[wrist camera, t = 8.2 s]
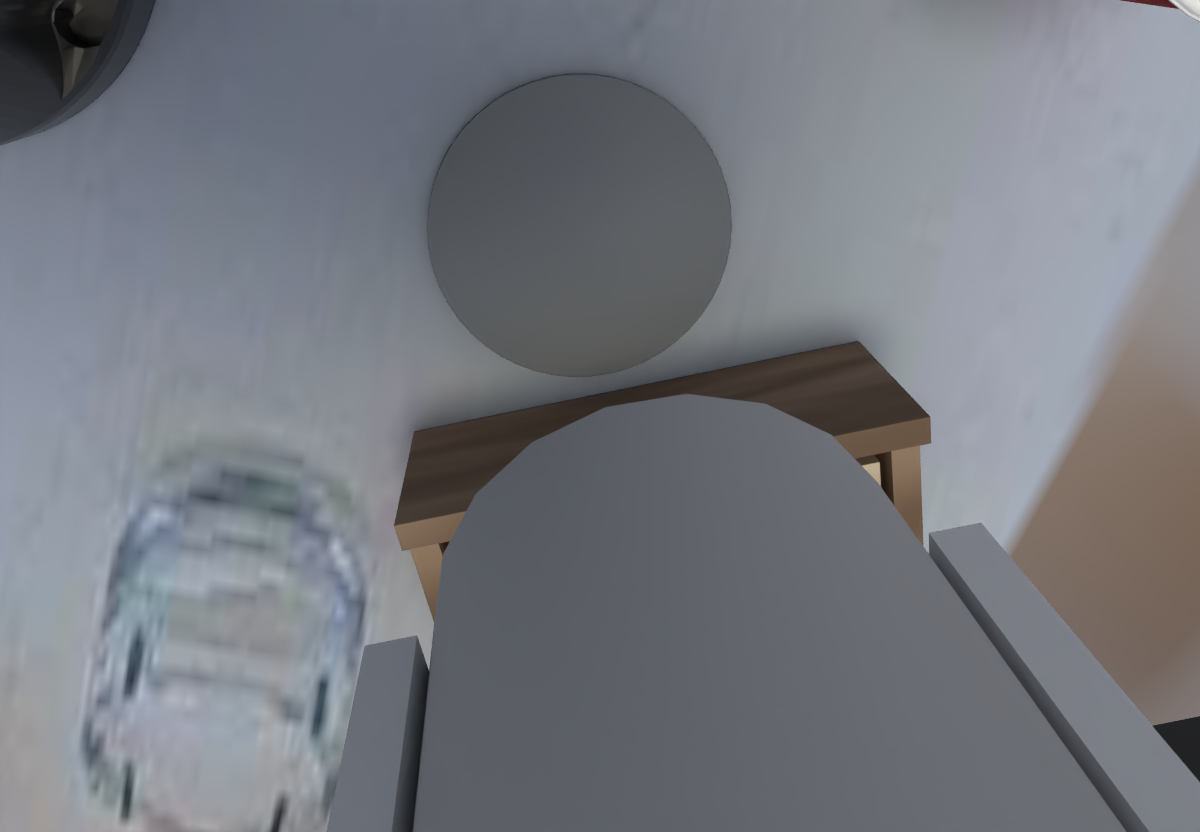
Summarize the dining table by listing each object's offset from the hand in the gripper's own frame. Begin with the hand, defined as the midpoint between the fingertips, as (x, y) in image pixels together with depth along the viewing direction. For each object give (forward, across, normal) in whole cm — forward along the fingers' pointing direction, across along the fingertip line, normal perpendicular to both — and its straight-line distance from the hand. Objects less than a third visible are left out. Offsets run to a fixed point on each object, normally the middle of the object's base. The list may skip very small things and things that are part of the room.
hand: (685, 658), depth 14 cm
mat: (+23, 0, 0) cm, 23 cm away
